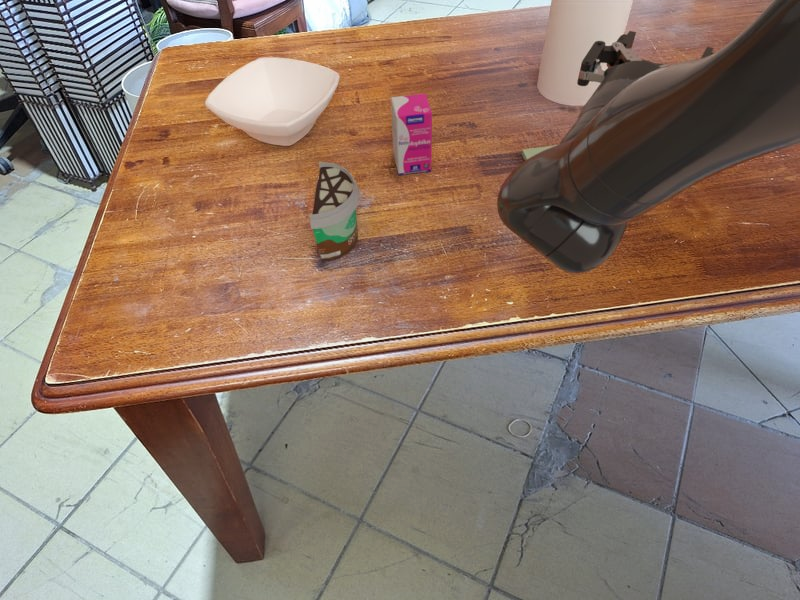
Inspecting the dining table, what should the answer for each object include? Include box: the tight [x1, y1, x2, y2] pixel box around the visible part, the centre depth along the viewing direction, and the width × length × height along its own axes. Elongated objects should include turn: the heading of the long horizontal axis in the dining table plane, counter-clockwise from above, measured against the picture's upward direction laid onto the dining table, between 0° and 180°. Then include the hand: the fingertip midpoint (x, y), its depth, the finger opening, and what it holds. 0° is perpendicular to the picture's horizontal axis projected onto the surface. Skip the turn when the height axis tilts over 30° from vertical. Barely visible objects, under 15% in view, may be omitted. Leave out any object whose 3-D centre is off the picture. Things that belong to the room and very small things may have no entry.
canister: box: [536, 0, 634, 107], centre depth 96 cm, size 14×14×20 cm
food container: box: [308, 161, 361, 263], centre depth 76 cm, size 12×6×10 cm, turn 179°
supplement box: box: [390, 93, 433, 176], centre depth 86 cm, size 6×6×12 cm
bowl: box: [204, 56, 340, 147], centre depth 95 cm, size 21×21×9 cm
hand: (667, 47), depth 61 cm, fingers open, 8 cm apart
